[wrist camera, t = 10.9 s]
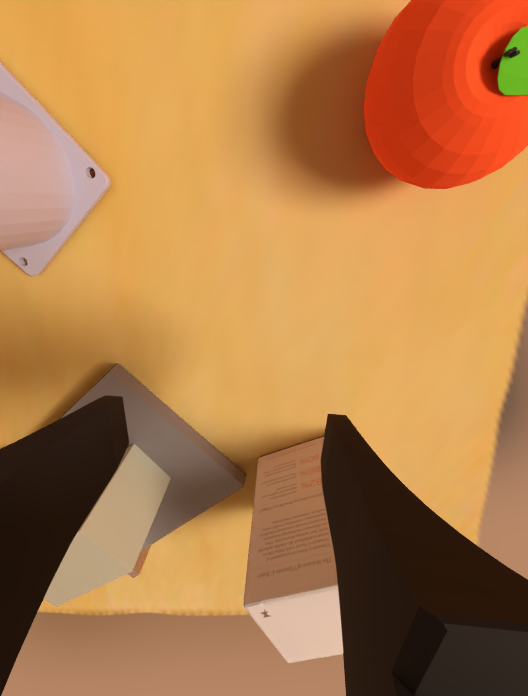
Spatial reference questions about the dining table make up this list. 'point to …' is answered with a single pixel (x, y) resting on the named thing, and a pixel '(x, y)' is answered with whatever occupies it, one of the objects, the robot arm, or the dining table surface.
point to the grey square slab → (169, 455)
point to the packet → (112, 529)
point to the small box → (293, 557)
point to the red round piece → (450, 91)
